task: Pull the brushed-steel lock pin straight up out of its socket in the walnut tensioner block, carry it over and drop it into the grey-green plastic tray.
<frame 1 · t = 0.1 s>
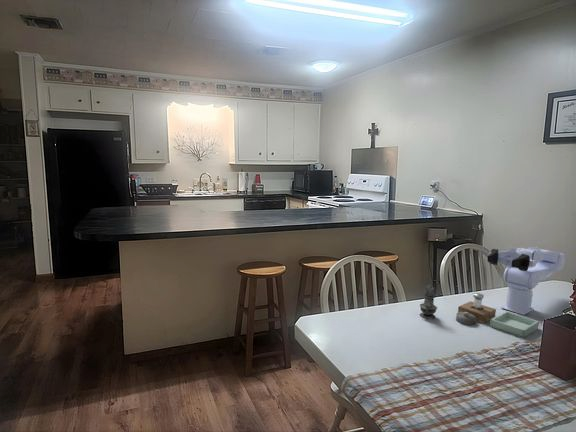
hand: (500, 261, 125), 22 cm above the table, tool horizontal, fingers open, 7 cm apart
tensioner block: (476, 315, 133), on the table
tray: (513, 327, 125), on the table
lock pin: (477, 305, 133), in the tensioner block
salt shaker: (427, 316, 132), on the table
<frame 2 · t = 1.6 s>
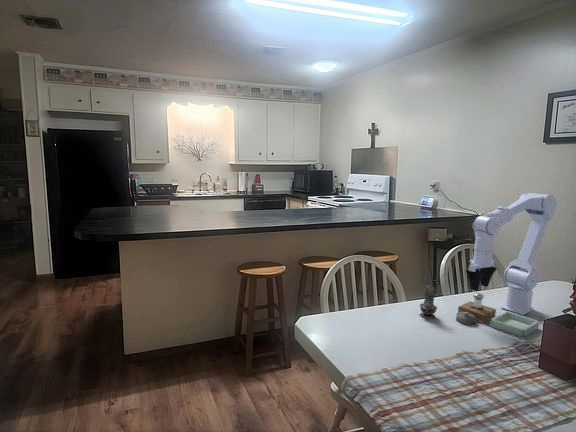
hand: (479, 287, 132), 10 cm above the table, tool pointing down, fingers open, 7 cm apart
nothing on the table moved.
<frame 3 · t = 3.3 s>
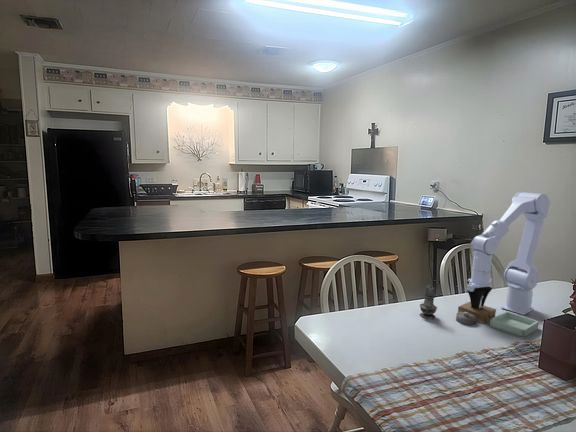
hand: (477, 306, 133), 3 cm above the table, tool pointing down, fingers closed on lock pin, 3 cm apart
lock pin: (477, 305, 133), in the tensioner block, touching gripper
everything else where it was.
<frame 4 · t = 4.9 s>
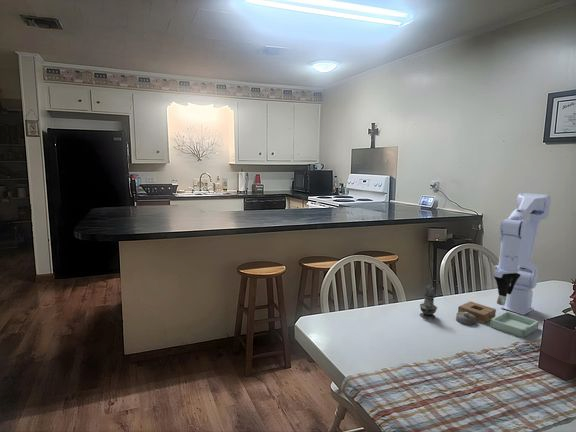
hand: (504, 294, 126), 10 cm above the table, tool pointing down, fingers closed on lock pin, 3 cm apart
lock pin: (503, 292, 126), point 11 cm above the table, tilted 5°, touching gripper
everything else where it was.
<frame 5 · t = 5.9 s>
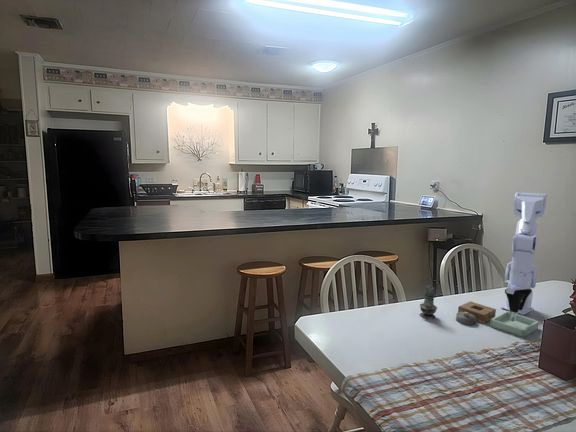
hand: (516, 310, 124), 6 cm above the table, tool pointing down, fingers closed on lock pin, 3 cm apart
lock pin: (514, 308, 124), point 6 cm above the table, tilted 7°, touching gripper
everything else where it was.
when the fingers open (6 cm above the table, at t = 6.6 s): lock pin drops 2 cm, resting on tray.
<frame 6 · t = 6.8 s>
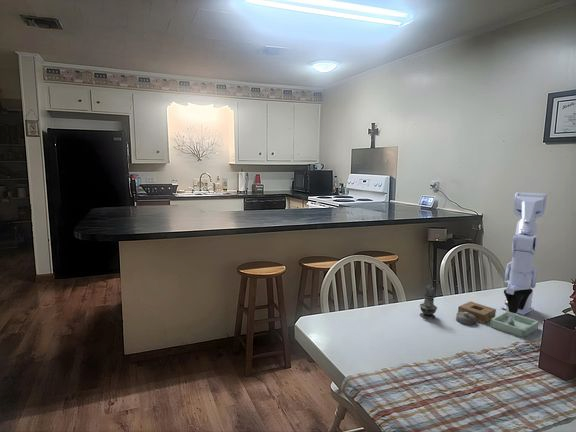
hand: (515, 310, 124), 6 cm above the table, tool pointing down, fingers open, 5 cm apart
lock pin: (510, 312, 125), in the tray, tilted 7°
everything else where it was.
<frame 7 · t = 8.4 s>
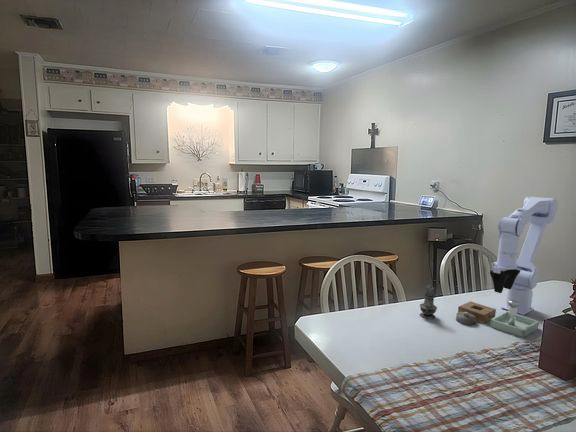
hand: (502, 290, 130), 10 cm above the table, tool pointing down, fingers open, 7 cm apart
lock pin: (512, 313, 125), in the tray, point 5 cm above the table
everything else where it was.
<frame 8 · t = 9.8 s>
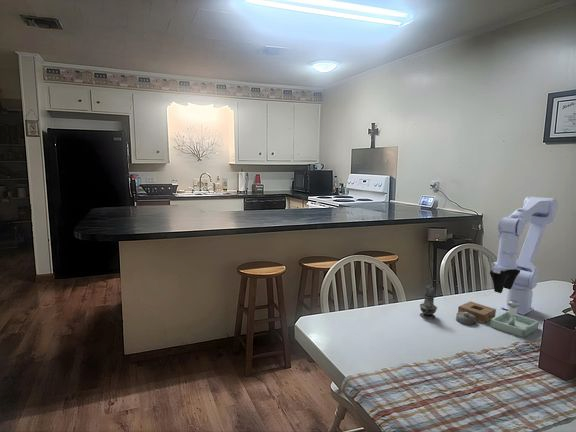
hand: (502, 290, 130), 10 cm above the table, tool pointing down, fingers open, 7 cm apart
nothing on the table moved.
at the end: lock pin inside the target area on the tray (1.0 cm from its centre), point 4.6 cm above the tray's base; lock pin touching tray; the gripper is holding nothing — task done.
